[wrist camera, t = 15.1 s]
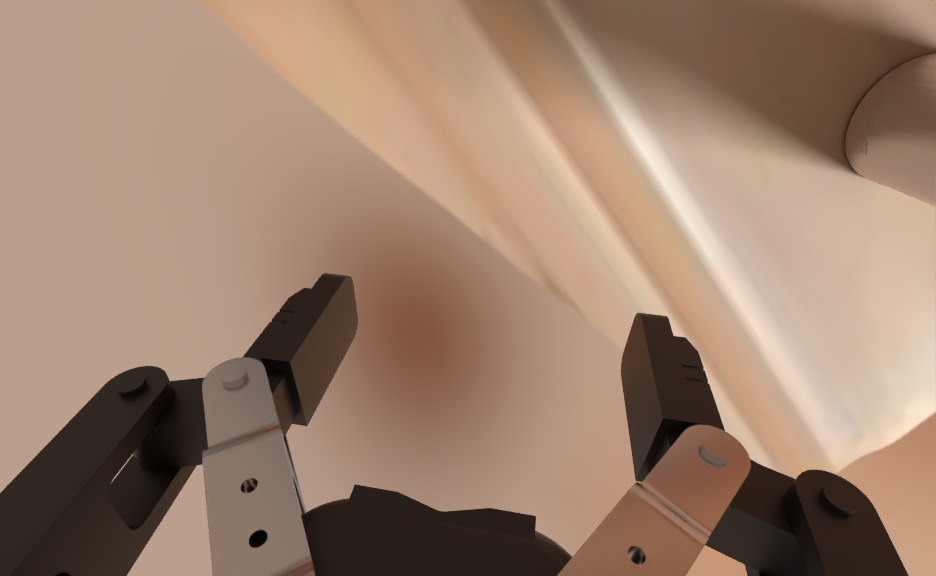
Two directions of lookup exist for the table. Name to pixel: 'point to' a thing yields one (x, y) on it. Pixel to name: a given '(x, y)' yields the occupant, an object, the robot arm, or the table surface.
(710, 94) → the table surface
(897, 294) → the table surface
